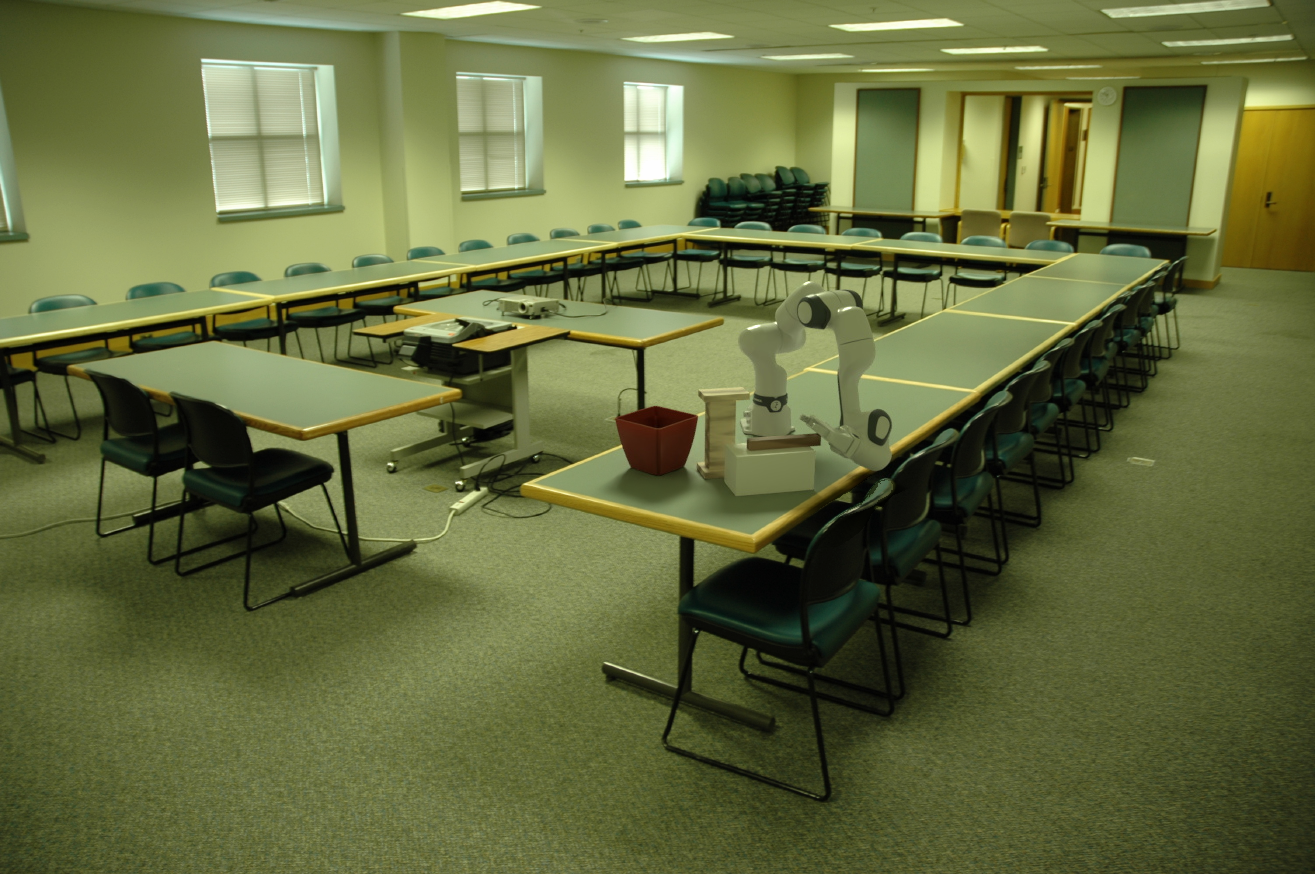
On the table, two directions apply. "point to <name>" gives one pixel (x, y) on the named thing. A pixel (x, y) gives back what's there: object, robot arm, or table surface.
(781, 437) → the walnut bar
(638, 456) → the plant pot
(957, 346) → the table surface
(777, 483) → the white rectangular block
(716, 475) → the wooden i-beam pillar
